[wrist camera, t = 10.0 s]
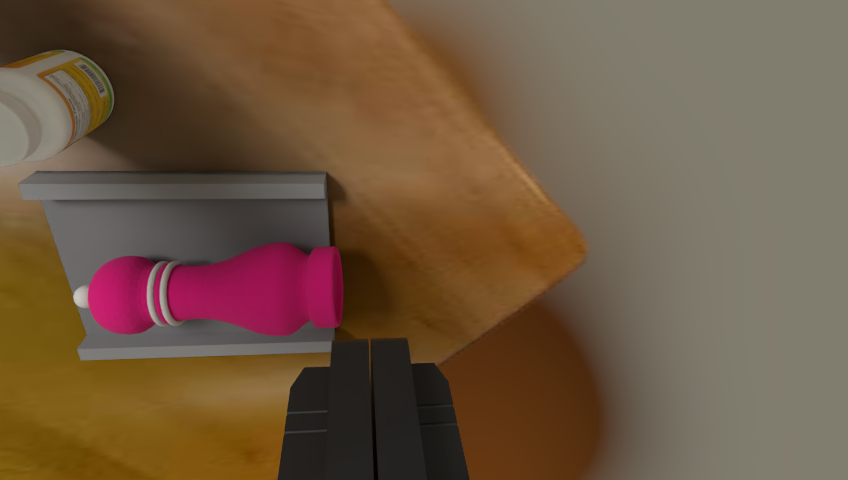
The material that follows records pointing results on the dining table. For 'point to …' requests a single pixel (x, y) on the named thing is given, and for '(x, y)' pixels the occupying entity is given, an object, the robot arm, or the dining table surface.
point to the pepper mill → (220, 291)
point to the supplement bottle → (50, 104)
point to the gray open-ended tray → (181, 243)
